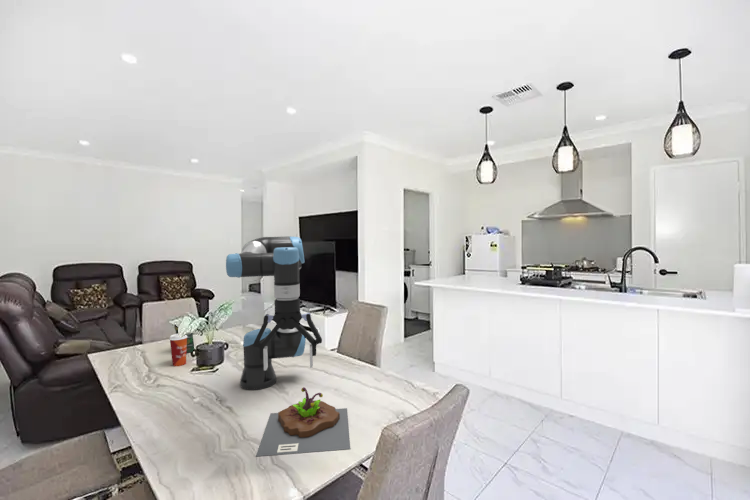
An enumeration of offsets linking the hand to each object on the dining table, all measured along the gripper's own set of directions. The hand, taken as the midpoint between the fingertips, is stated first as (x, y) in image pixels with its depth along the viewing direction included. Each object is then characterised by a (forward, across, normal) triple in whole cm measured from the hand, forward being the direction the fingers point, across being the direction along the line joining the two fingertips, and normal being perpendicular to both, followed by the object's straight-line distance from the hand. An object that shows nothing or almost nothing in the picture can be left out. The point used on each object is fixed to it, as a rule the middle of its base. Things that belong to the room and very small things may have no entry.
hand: (288, 367), depth 111 cm
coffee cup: (+25, -64, +83) cm, 107 cm away
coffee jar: (+24, -68, +103) cm, 126 cm away
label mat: (+25, +4, +10) cm, 27 cm away
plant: (+25, +4, +16) cm, 30 cm away
